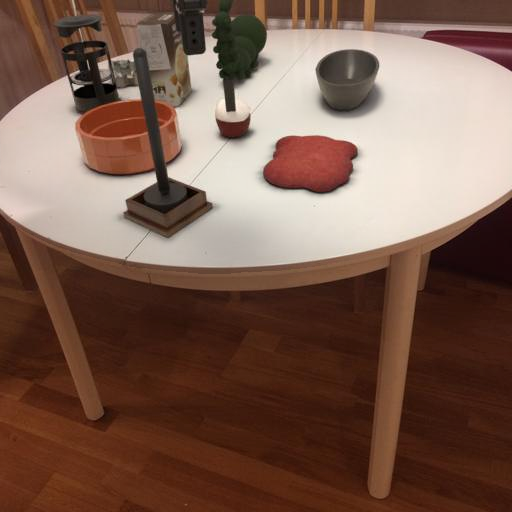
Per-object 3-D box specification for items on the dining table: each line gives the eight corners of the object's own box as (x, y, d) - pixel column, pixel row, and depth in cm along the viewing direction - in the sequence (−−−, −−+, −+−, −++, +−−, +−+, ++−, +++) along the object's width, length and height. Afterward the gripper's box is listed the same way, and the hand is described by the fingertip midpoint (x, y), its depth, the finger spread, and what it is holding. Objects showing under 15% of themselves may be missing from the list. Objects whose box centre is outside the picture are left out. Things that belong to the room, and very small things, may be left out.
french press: (128, 108, 108) (102, -16, 94) (83, 119, 104) (49, -8, 90) (111, 92, 116) (85, -24, 102) (68, 102, 112) (35, -17, 98)
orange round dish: (128, 186, 82) (119, 148, 78) (65, 160, 90) (54, 124, 86) (201, 146, 92) (196, 111, 88) (138, 126, 100) (131, 92, 96)
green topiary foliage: (249, 96, 114) (275, 51, 131) (240, 4, 101) (270, -32, 119) (208, 94, 116) (239, 50, 134) (195, 4, 103) (231, -32, 121)
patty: (280, 138, 93) (280, 127, 91) (360, 143, 89) (361, 132, 88) (254, 187, 79) (253, 176, 78) (346, 196, 76) (347, 184, 75)
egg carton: (146, 85, 119) (142, 66, 116) (112, 89, 117) (108, 71, 115) (141, 70, 127) (138, 53, 124) (110, 74, 126) (106, 57, 123)
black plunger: (167, 224, 71) (136, 59, 58) (137, 211, 74) (101, 51, 61) (197, 204, 75) (174, 45, 62) (168, 192, 78) (140, 38, 65)
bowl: (308, 117, 99) (308, 84, 95) (323, 77, 116) (323, 48, 112) (373, 120, 97) (376, 87, 93) (379, 79, 113) (381, 49, 110)
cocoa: (228, 122, 99) (222, 58, 92) (259, 126, 97) (255, 60, 90) (206, 144, 92) (198, 75, 85) (238, 148, 90) (233, 78, 83)
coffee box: (179, 107, 107) (167, 23, 97) (150, 106, 108) (135, 23, 98) (192, 91, 114) (182, 11, 104) (165, 90, 115) (152, 11, 105)
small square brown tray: (167, 237, 70) (164, 220, 68) (124, 217, 75) (119, 200, 73) (212, 207, 75) (210, 190, 74) (169, 190, 80) (166, 174, 78)
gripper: (124, -151, 50) (151, 28, 60) (126, -153, 39) (158, 66, 49) (202, -154, 51) (215, 22, 61) (225, -157, 40) (237, 58, 50)
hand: (190, 41), depth 55 cm, fingers open, 8 cm apart
